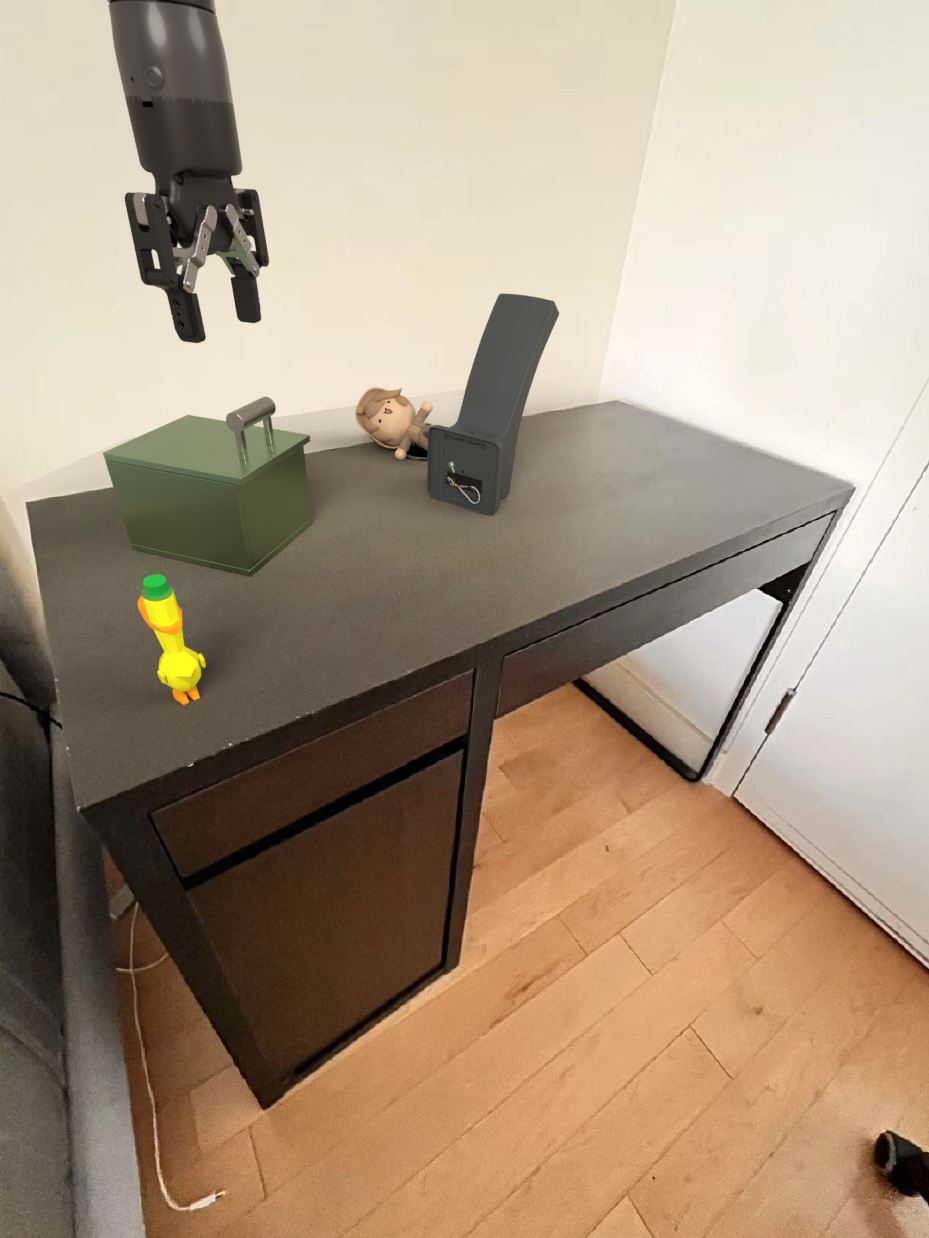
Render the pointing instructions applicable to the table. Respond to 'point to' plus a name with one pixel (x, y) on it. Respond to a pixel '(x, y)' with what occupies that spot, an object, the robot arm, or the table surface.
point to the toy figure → (170, 639)
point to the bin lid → (214, 445)
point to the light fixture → (491, 407)
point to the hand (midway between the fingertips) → (223, 331)
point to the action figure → (393, 420)
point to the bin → (214, 514)
